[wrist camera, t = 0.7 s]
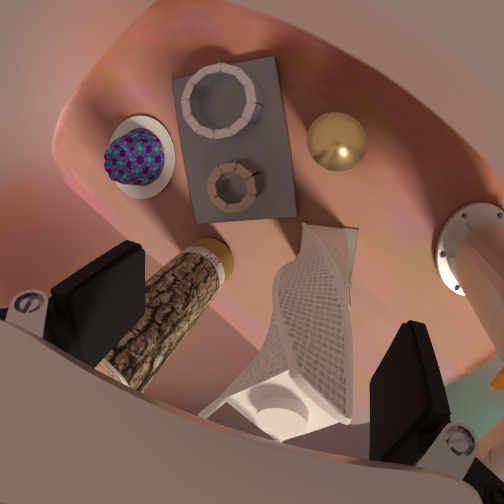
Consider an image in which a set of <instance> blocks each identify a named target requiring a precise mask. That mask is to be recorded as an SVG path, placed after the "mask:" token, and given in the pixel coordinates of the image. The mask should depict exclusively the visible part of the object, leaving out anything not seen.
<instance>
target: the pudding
mask: <svg viewBox="0 0 504 504" xmlns="http://www.w3.org/2000/svg"><path fill="white" fill-rule="evenodd" d="M136 128H146V129H149V130H151V131H152V132H154V133H155V134H156V135H157V136H158V137H159V139H160V140H161V142H162V145H163V148H164V152H165V162H164V154H163V153H162V151H161V142H160V140H159V139H158V138H157V137H156V136H151V133H150V131H148V130H146V129H141V130H139V131H137V132H136V131H132V132H130V131H131V130H133V129H136ZM128 132H129V133H128ZM104 158H105V163H104V167H105V170H106V171H107V172H108V173H109V177H110V178H111V180H113V181H114V182H115V183H116V185H117V186H118V187H119V188H120V189H121V190H122V191H123V192H124V193H125V194H127V195H129V196H131V197H134V198H137V199H146V198H150V197H153V196H155V195H157V194H158V193H160V192H161V191H162V190H163V189H164V188H165V187H166V185H167V184H168V182H169V180H170V178H171V176H172V173H173V169H174V163H175V153H174V147H173V143H172V140H171V137H170V135H169V134H168V132H167V130H166V129H165V128H164V126H163V125H162V124H160V123H159V122H158V121H157V120H155V119H153V118H151V117H148V116H134V117H131V118H128V119H127V120H125V121H123V122H122V123H121V124H120V125H119V126H118V127H117V129H116V130H115V131H114V133H113V135H112V137H111V140H110V142H109V147H108V149H107V150H106V152H105V155H104ZM163 163H164V167H163V170H162V172H161V174H160V167H161V166H162V165H163ZM159 174H160V176H159ZM158 176H159V177H158ZM157 178H158V179H157ZM155 179H157V180H156V181H154V182H153V183H152V184H149V185H146V184H148V182H149V180H155ZM138 185H146V186H138Z"/></svg>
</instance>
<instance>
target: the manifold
mask: <svg viewBox="0 0 504 504" xmlns="http://www.w3.org/2000/svg"><path fill="white" fill-rule="evenodd" d="M172 87H173V94H174V101H175V107H176V114H177V120H178V127H179V133H180V139H181V145H182V150H183V156H184V162H185V167H186V173H187V178H188V184H189V189H190V194H191V200H192V205H193V210H194V215H195V220H196V224H205V223H217V222H230V221H243V220H257V219H272V218H287V217H297V216H298V214H299V212H298V203H297V195H296V186H295V178H294V170H293V163H292V155H291V148H290V140H289V133H288V126H287V120H286V113H285V107H284V100H283V94H282V88H281V82H280V76H279V70H278V64H277V59H276V58H275V57H274V56H271V57H265V58H260V59H254V60H249V61H245V62H240V63H235V64H231V65H228V64H225V63H217V64H213V65H210V66H206V67H203V69H202V68H201V69H200V70H199V71H198V72H197V73H195V74H193V75H189V76H186V77H182V78H179V79H176V80H173V81H172Z"/></svg>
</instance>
